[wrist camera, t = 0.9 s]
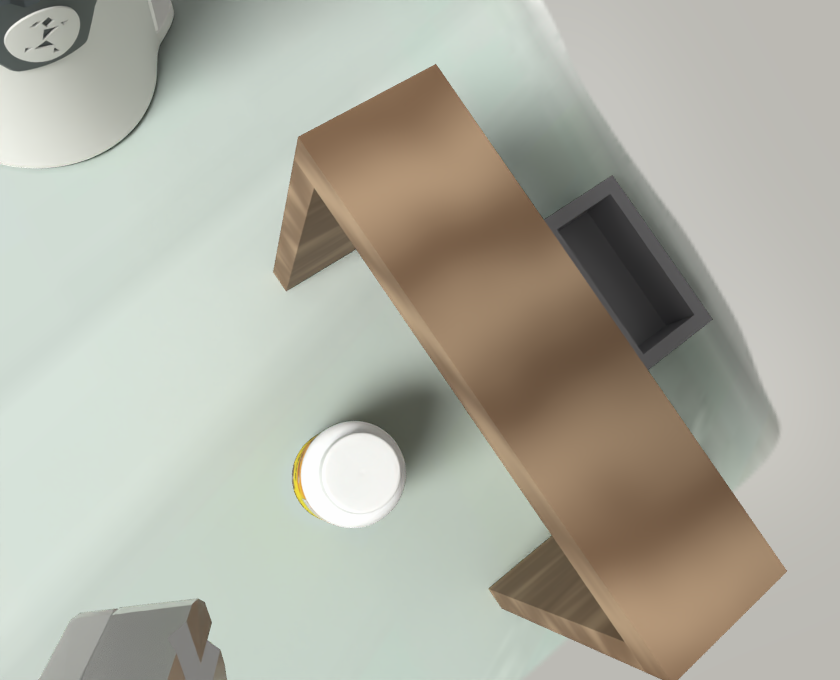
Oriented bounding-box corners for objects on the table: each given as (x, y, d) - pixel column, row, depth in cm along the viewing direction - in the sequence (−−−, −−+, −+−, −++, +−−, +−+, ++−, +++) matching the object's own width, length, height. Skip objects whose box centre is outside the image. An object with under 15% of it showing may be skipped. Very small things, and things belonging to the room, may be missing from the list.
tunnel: (273, 272, 47) (298, 136, 29) (361, 220, 49) (435, 63, 31) (501, 608, 46) (673, 684, 28) (581, 540, 49) (787, 571, 30)
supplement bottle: (330, 412, 46) (356, 392, 36) (396, 470, 46) (439, 465, 37) (270, 481, 44) (281, 480, 35) (339, 540, 45) (369, 555, 35)
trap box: (514, 243, 52) (537, 224, 48) (585, 197, 54) (612, 175, 50) (611, 383, 51) (641, 375, 48) (678, 331, 54) (712, 319, 50)
